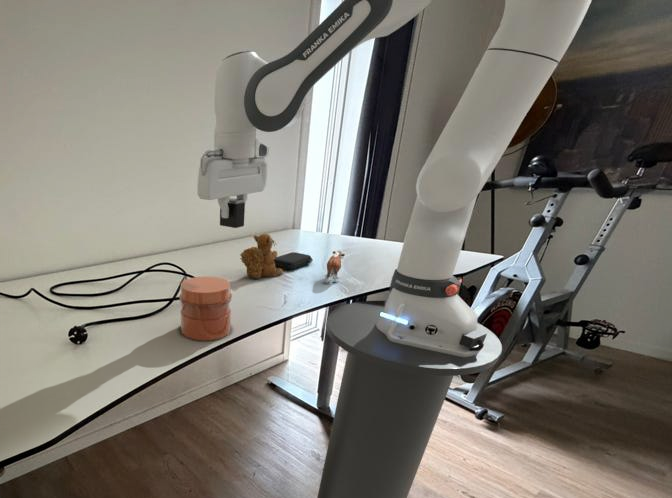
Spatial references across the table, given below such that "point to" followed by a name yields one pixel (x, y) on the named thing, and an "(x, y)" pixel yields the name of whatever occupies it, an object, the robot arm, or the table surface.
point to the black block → (234, 214)
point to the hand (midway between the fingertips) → (232, 216)
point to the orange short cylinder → (205, 308)
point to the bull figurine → (334, 264)
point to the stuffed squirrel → (261, 258)
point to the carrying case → (292, 260)
